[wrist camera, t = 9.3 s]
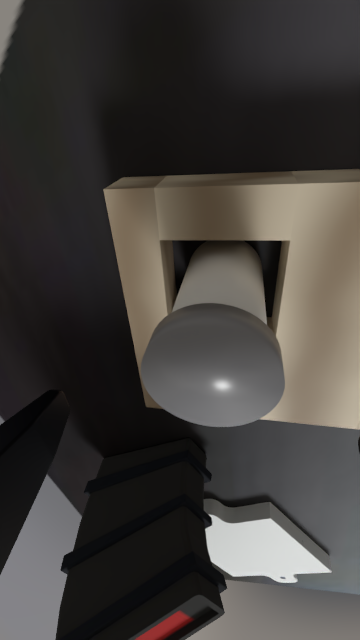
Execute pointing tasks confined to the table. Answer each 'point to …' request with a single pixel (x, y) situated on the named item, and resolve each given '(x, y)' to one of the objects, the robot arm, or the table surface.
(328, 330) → the socket board
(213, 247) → the plug
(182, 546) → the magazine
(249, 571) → the mounting plate
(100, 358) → the table surface
